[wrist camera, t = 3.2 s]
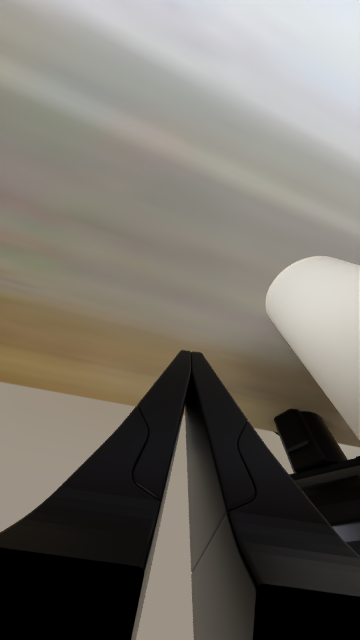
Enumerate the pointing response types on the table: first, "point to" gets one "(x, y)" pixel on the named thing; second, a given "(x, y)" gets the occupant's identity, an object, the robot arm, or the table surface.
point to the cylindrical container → (323, 326)
